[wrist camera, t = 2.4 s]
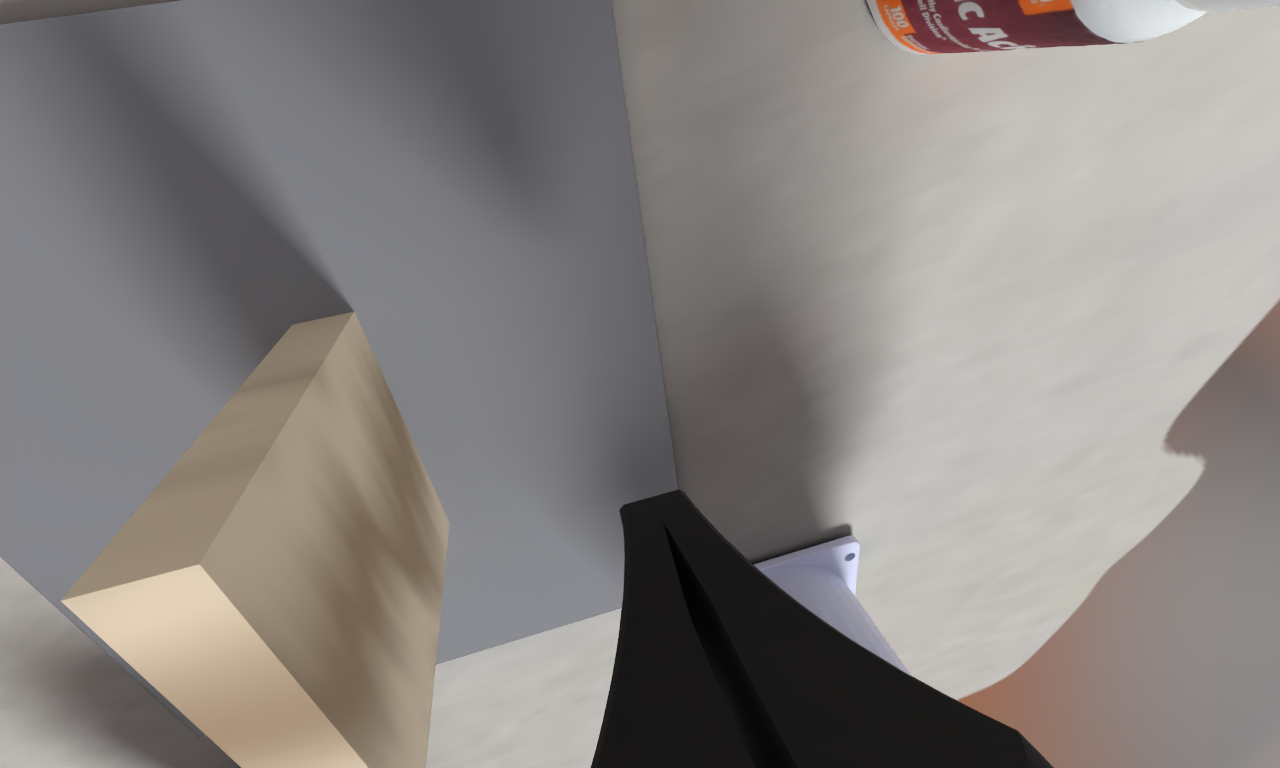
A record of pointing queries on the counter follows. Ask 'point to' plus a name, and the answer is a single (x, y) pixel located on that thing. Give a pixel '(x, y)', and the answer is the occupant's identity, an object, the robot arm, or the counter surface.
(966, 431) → the counter surface
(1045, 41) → the pill bottle
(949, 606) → the counter surface
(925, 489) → the counter surface
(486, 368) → the mat
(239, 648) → the tile
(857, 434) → the counter surface
